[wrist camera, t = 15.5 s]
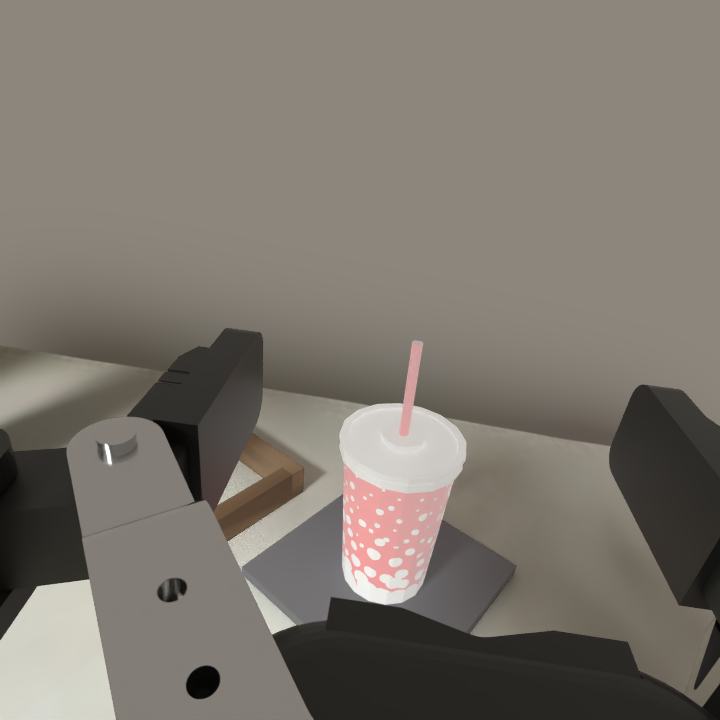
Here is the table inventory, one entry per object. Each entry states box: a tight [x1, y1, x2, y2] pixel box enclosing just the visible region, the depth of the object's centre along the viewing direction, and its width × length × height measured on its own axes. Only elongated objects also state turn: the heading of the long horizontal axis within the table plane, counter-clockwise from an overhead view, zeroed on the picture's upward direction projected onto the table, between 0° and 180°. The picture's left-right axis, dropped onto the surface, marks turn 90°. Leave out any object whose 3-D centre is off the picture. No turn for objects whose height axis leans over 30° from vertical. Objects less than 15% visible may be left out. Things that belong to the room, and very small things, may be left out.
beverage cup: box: [339, 340, 466, 605], centre depth 26 cm, size 6×6×14 cm
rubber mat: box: [242, 495, 516, 634], centre depth 29 cm, size 11×11×1 cm
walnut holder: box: [214, 433, 304, 541], centre depth 33 cm, size 11×11×2 cm
